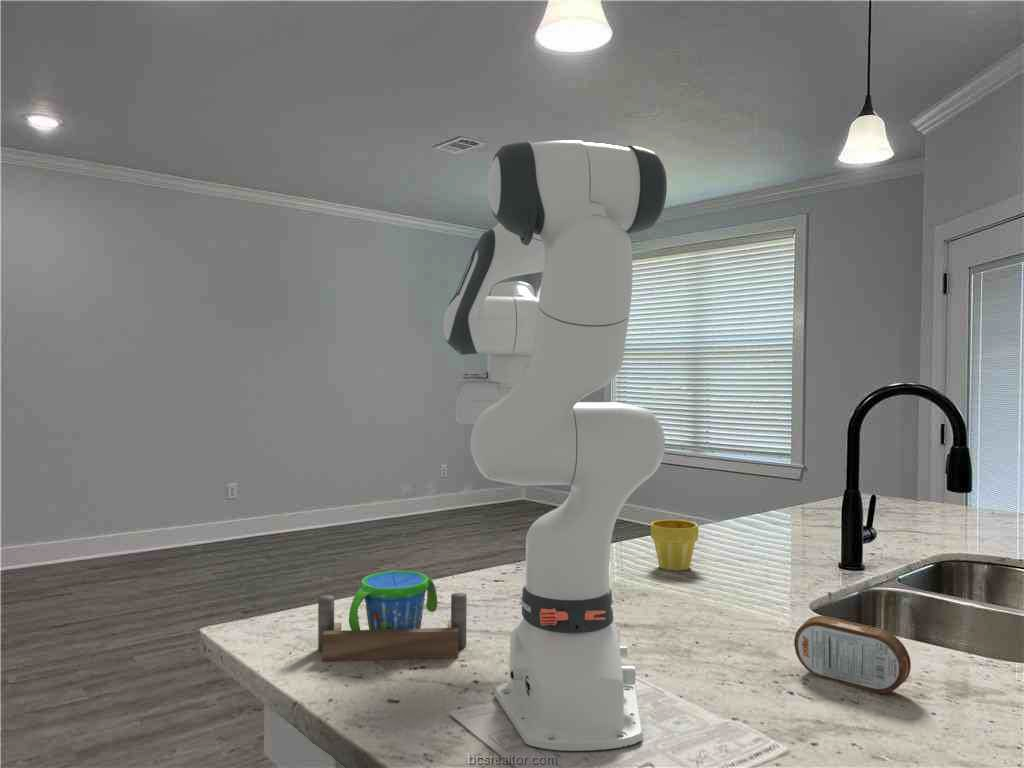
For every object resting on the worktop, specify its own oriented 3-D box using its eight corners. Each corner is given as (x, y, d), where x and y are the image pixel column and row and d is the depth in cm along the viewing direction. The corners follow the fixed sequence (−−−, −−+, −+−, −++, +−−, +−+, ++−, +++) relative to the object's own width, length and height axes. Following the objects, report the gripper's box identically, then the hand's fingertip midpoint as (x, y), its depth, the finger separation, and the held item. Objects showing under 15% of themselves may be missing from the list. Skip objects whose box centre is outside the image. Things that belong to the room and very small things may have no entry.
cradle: (467, 657, 115) (467, 604, 115) (312, 661, 113) (313, 607, 113) (465, 635, 125) (465, 586, 125) (322, 638, 123) (323, 588, 122)
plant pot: (646, 571, 166) (647, 526, 166) (653, 560, 176) (654, 517, 176) (695, 575, 163) (696, 529, 163) (699, 564, 173) (700, 520, 173)
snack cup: (365, 664, 112) (365, 594, 112) (334, 643, 120) (334, 579, 120) (454, 641, 122) (454, 578, 122) (420, 624, 130) (420, 564, 130)
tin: (911, 695, 103) (912, 633, 102) (904, 703, 100) (905, 639, 100) (799, 666, 113) (800, 609, 112) (791, 672, 110) (791, 614, 110)
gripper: (454, 372, 134) (453, 450, 135) (569, 373, 136) (568, 450, 137) (453, 372, 141) (453, 447, 141) (563, 373, 143) (563, 447, 143)
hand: (511, 448), depth 139 cm, fingers closed
